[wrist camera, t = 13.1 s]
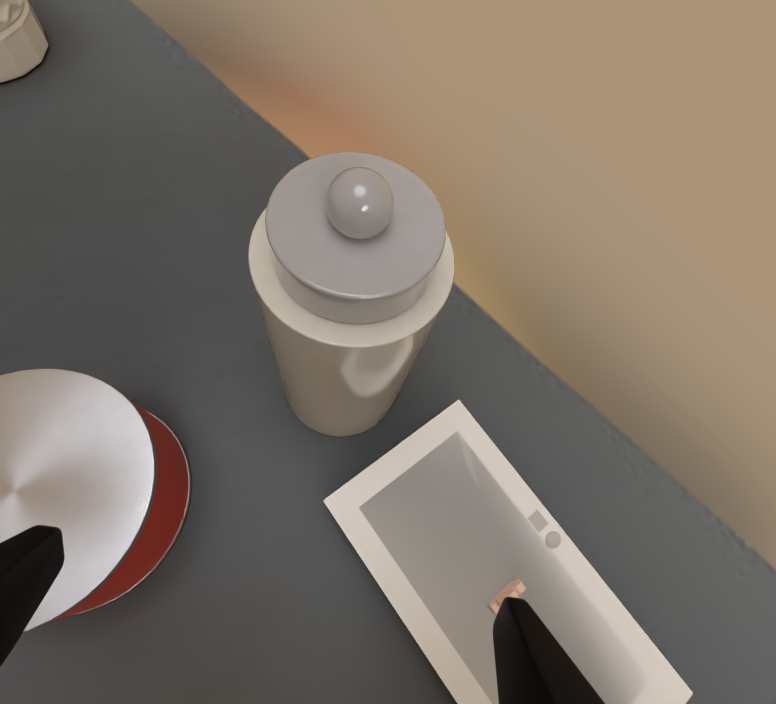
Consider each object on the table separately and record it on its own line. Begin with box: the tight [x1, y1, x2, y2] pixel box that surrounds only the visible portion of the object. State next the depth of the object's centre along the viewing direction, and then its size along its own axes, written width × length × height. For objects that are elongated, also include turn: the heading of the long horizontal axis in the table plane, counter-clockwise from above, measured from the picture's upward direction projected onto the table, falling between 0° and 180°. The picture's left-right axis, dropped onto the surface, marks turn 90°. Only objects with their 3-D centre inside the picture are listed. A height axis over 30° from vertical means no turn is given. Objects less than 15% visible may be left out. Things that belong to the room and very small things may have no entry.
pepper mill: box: [248, 152, 455, 436], centre depth 16 cm, size 6×6×14 cm
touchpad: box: [323, 400, 693, 704], centre depth 18 cm, size 8×15×2 cm, turn 37°
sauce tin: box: [0, 369, 192, 633], centre depth 16 cm, size 8×8×5 cm
